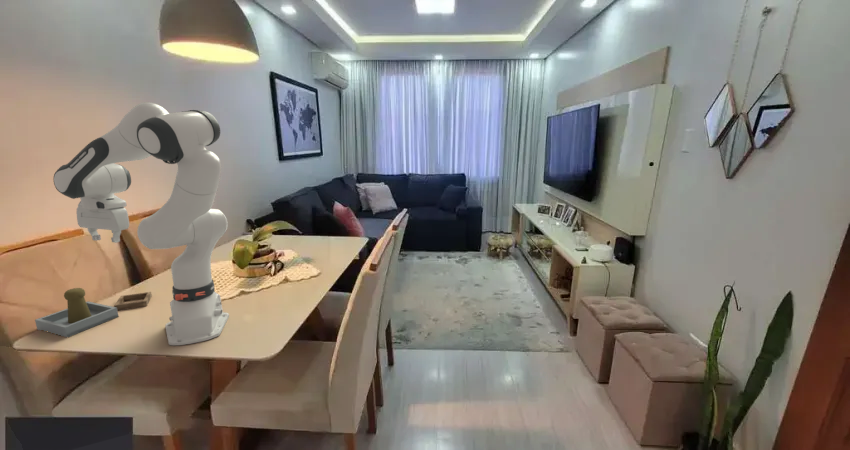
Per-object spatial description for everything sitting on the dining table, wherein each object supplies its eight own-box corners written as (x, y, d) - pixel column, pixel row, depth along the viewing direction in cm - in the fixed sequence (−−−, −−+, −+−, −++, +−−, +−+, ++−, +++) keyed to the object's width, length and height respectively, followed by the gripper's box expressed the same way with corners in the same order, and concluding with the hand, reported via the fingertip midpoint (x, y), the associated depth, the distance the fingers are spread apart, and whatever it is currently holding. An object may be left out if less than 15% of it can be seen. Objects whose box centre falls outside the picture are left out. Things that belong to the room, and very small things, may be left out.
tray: (118, 316, 131) (116, 307, 130) (67, 337, 117) (65, 327, 116) (89, 310, 135) (88, 301, 135) (37, 329, 122) (34, 319, 121)
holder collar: (146, 306, 139) (146, 301, 139) (114, 310, 135) (113, 305, 135) (151, 296, 148) (151, 291, 147) (121, 300, 144) (120, 295, 143)
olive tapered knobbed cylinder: (78, 324, 123) (71, 293, 121) (63, 322, 124) (56, 292, 122) (96, 316, 129) (90, 286, 127) (81, 314, 130) (75, 285, 127)
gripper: (66, 201, 126) (75, 241, 129) (109, 204, 120) (117, 245, 123) (88, 199, 132) (95, 236, 135) (129, 201, 126) (136, 240, 129)
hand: (106, 241), depth 129 cm, fingers open, 8 cm apart
